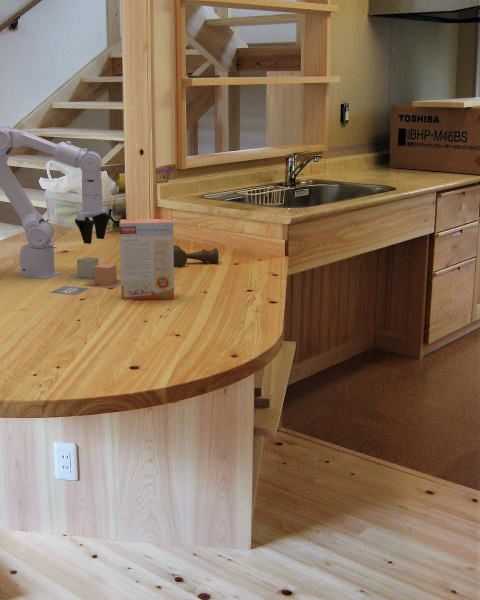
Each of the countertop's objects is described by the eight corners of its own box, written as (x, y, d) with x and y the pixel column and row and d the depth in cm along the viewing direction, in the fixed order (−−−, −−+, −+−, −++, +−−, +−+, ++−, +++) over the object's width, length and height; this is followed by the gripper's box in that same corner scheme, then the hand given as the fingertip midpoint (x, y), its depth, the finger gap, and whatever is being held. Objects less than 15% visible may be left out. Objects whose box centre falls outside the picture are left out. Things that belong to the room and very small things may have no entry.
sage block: (77, 276, 231) (76, 259, 230) (85, 273, 235) (84, 256, 234) (91, 278, 230) (90, 261, 228) (98, 274, 234) (98, 258, 233)
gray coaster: (69, 278, 230) (69, 277, 230) (83, 272, 238) (83, 271, 237) (93, 281, 228) (93, 279, 228) (107, 275, 235) (106, 273, 235)
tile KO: (49, 293, 213) (48, 292, 213) (64, 286, 221) (64, 285, 221) (74, 296, 211) (74, 295, 211) (90, 289, 218) (90, 288, 218)
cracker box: (173, 294, 215) (173, 217, 210) (174, 299, 210) (173, 221, 204) (121, 294, 214) (119, 218, 208) (120, 300, 208) (119, 221, 202)
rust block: (94, 284, 223) (94, 266, 221) (102, 280, 227) (101, 263, 226) (109, 285, 221) (108, 268, 220) (116, 281, 226) (116, 264, 224)
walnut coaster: (83, 286, 222) (83, 285, 222) (99, 279, 230) (99, 278, 230) (112, 289, 219) (112, 288, 219) (127, 282, 227) (127, 280, 227)
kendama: (220, 267, 250) (157, 268, 245) (214, 262, 259) (153, 262, 254) (221, 249, 248) (157, 249, 244) (215, 244, 257) (154, 244, 253)
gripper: (91, 198, 220) (93, 246, 223) (116, 192, 233) (117, 237, 237) (69, 197, 222) (71, 244, 226) (95, 191, 235) (97, 236, 239)
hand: (94, 241), depth 231 cm, fingers open, 7 cm apart
